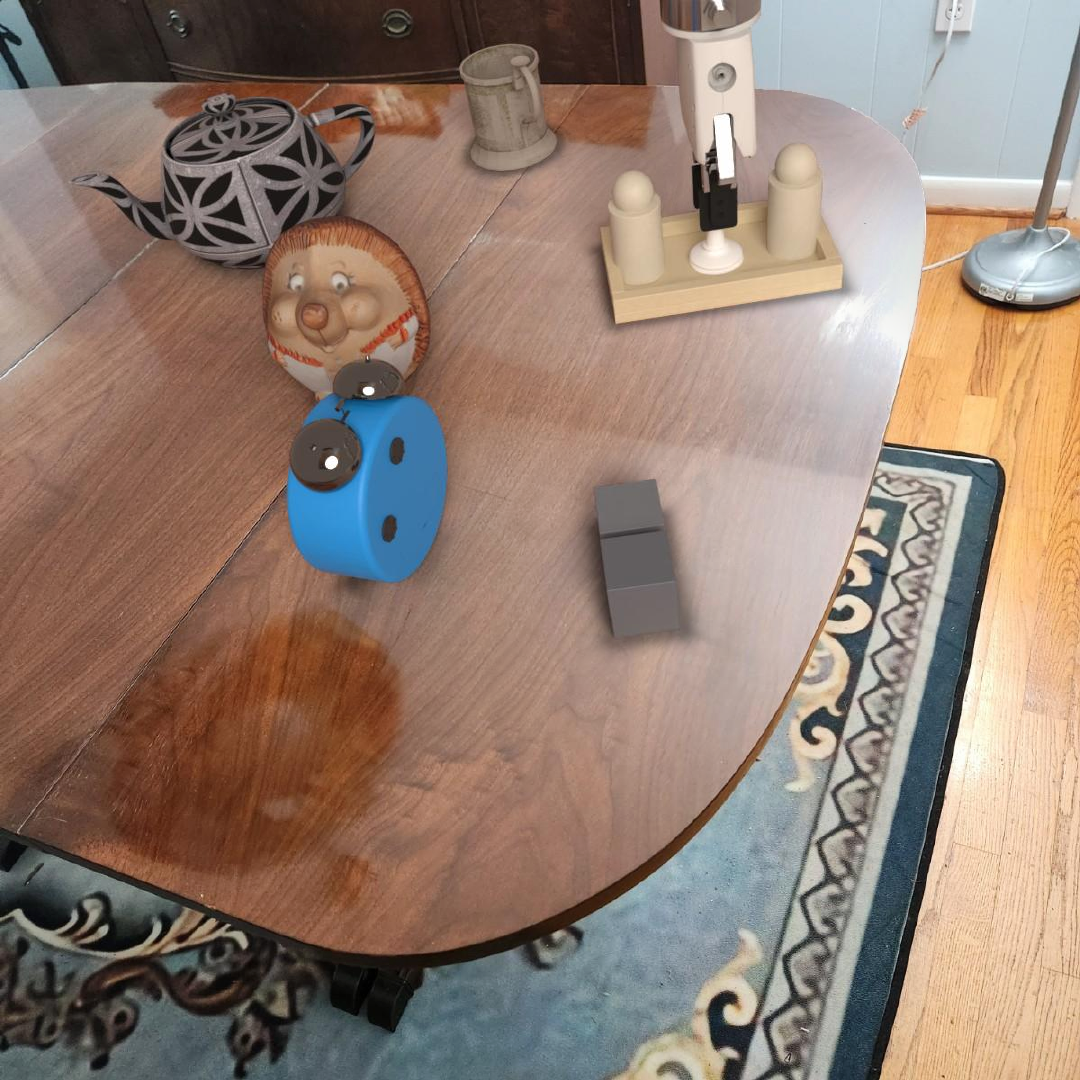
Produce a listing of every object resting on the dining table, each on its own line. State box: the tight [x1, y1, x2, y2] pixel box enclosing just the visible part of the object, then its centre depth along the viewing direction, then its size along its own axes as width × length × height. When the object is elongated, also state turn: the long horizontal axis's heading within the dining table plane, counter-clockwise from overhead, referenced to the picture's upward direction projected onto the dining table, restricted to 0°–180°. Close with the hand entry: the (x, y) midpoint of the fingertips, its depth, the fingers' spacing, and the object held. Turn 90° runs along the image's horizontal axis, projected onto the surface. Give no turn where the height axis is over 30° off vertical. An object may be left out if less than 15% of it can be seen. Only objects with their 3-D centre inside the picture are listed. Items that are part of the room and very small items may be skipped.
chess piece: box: [689, 163, 743, 275], centre depth 88 cm, size 5×5×10 cm
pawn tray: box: [599, 142, 845, 325], centre depth 89 cm, size 20×12×11 cm, turn 93°
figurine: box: [261, 215, 431, 403], centre depth 85 cm, size 14×16×15 cm
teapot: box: [68, 92, 376, 270], centre depth 103 cm, size 19×31×15 cm, turn 112°
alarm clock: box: [286, 355, 448, 584], centre depth 70 cm, size 13×6×15 cm, turn 162°
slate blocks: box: [593, 478, 680, 639], centre depth 69 cm, size 4×10×5 cm, turn 3°
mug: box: [458, 43, 558, 172], centre depth 108 cm, size 14×10×12 cm
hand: (714, 214), depth 89 cm, fingers open, 3 cm apart
